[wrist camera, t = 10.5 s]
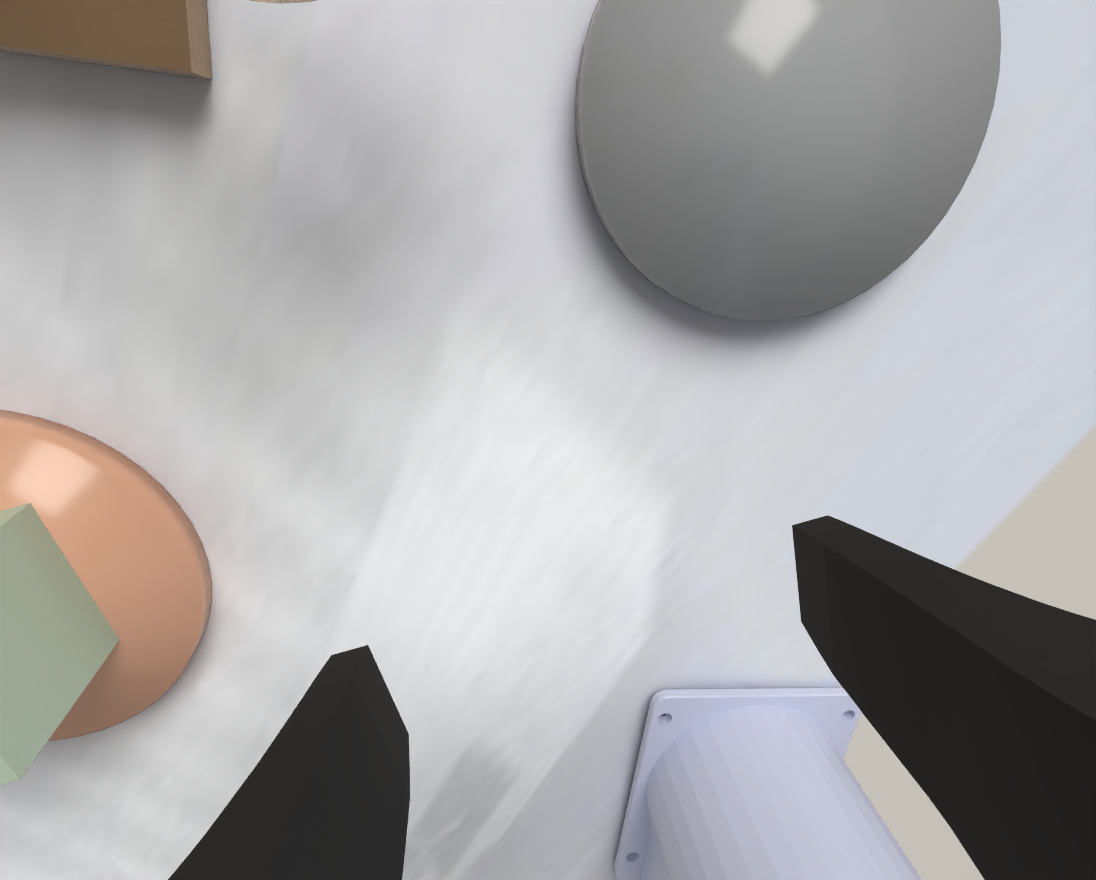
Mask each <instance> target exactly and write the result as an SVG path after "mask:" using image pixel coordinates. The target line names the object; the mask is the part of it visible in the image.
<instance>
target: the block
mask: <svg viewBox="0 0 1096 880" xmlns="http://www.w3.org/2000/svg"><path fill="white" fill-rule="evenodd" d="M118 641H119V638H118V637H117V635H116V634H115V632H114V631H113V629H112V628H111V626H110V624H109V623H108V621H107V620H106V618H105V617H104V615H103V614H102V612H101V611H100V609H99V608H98V606H97V605H96V603H95V601H94V600H93V598H92V597H91V595H90V594H89V592H88V591H87V589H86V588H85V586H84V585H83V583H82V582H81V580H80V578H79V577H78V575H77V574H76V572H75V571H74V569H73V568H72V566H71V565H70V563H69V562H68V560H67V558H66V557H65V555H64V554H63V552H62V551H61V549H60V548H59V546H58V545H57V543H56V542H55V540H54V539H53V537H52V535H51V534H50V532H49V531H48V529H47V528H46V526H45V525H44V523H43V522H42V520H41V519H40V517H39V516H38V514H37V512H36V511H35V509H34V508H33V506H32V505H31V503H27V504H24V505H20V506H16V507H12V508H9V509H5V510H1V511H0V785H3V784H7V783H10V782H14V781H17V780H20V779H21V778H22V776H23V775H24V774H25V772H26V771H27V769H28V768H29V767H30V765H31V764H32V762H33V761H34V760H35V758H36V757H37V755H38V754H39V753H40V751H41V750H42V748H43V747H44V746H45V744H46V743H47V741H48V740H49V738H50V737H51V736H52V734H53V733H54V731H55V730H56V729H57V727H58V726H59V724H60V723H61V722H62V720H63V719H64V717H65V716H66V715H67V713H68V712H69V710H70V709H71V708H72V706H73V705H74V703H75V702H76V700H77V699H78V698H79V696H80V695H81V693H82V692H83V691H84V689H85V688H86V686H87V685H88V684H89V682H90V681H91V679H92V678H93V677H94V675H95V674H96V672H97V671H98V670H99V668H100V667H101V665H102V664H103V662H104V661H105V660H106V658H107V657H108V655H109V654H110V653H111V651H112V650H113V648H114V647H115V646H116V644H117V643H118Z"/></svg>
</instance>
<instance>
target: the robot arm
mask: <svg viewBox="0 0 1096 880" xmlns="http://www.w3.org/2000/svg"><path fill="white" fill-rule="evenodd" d="M792 529H793V539H794V550H795V560H796V571H797V581H798V592H799V602H800V613H801V622H802V624H803V625H804V627H805V629H806V630H807V632H808V634H809V636H810V637H811V639H812V641H813V642H814V644H815V646H816V648H817V649H818V651H819V653H820V654H821V656H822V657H823V659H824V661H825V662H826V664H827V666H828V667H829V669H830V670H831V672H832V674H833V675H834V676H835V678H836V679H837V680H838V682H839V683H840V684H841V686H842V687H843V688H761V689H667V690H661V691H659V692H657V693H656V694H655V695H654V696H653V697H652V699H651V701H650V706H649V711H648V715H647V720H646V724H645V729H644V733H643V738H642V742H641V747H640V751H639V756H638V760H637V765H636V769H635V774H634V778H633V783H632V788H631V792H630V797H629V801H628V806H627V810H626V815H625V819H624V824H623V828H622V833H621V837H620V842H619V846H618V851H617V855H616V860H615V865H614V871H615V875H616V878H617V879H618V880H922V879H921V877H920V876H919V874H918V873H917V871H916V870H915V868H914V867H913V865H912V864H911V862H910V861H909V859H908V858H907V856H906V855H905V853H904V852H903V850H902V849H901V847H900V846H899V844H898V842H897V841H896V839H895V838H894V837H893V835H892V833H891V832H890V830H889V829H888V827H887V826H886V824H885V823H884V821H883V820H882V818H881V817H880V815H879V813H878V812H877V810H876V809H875V807H874V806H873V804H872V803H871V801H870V800H869V798H868V797H867V795H866V794H865V792H864V791H863V789H862V788H861V786H860V785H859V783H858V781H857V780H856V778H855V777H854V775H853V774H852V772H851V771H850V769H849V768H848V767H847V765H846V763H845V762H844V760H843V758H844V755H845V753H846V750H847V747H848V745H849V742H850V739H851V737H852V734H853V731H854V729H855V726H856V723H857V721H858V718H859V716H860V713H861V712H862V713H863V714H864V715H865V717H866V718H867V719H868V721H869V722H870V723H871V724H872V726H873V727H874V728H875V729H876V731H877V732H878V733H879V734H880V736H881V737H882V738H883V739H884V741H885V742H886V743H887V745H888V746H889V747H890V748H891V750H892V751H893V752H894V754H895V755H896V756H897V757H898V759H899V760H900V761H901V763H902V764H903V765H904V766H905V768H906V769H907V770H908V771H909V773H910V774H911V775H912V777H913V778H914V779H915V780H916V782H917V783H918V784H919V785H920V787H921V788H922V789H923V791H924V792H925V793H926V794H927V796H928V797H929V798H930V800H931V801H932V802H933V803H934V805H935V807H936V808H937V809H938V811H939V812H940V813H941V815H942V816H943V818H944V819H945V820H946V822H947V823H948V824H949V826H950V827H951V829H952V830H953V832H954V833H955V835H956V836H957V838H958V839H959V841H960V843H961V844H962V846H963V847H964V849H965V850H966V852H967V853H968V855H969V856H970V858H971V859H972V861H973V862H974V864H975V866H976V867H977V869H978V870H979V871H980V873H981V875H982V876H983V878H984V879H985V880H1096V620H1094V619H1091V618H1088V617H1084V616H1081V615H1077V614H1074V613H1071V612H1068V611H1065V610H1062V609H1059V608H1056V607H1053V606H1050V605H1047V604H1044V603H1041V602H1038V601H1035V600H1032V599H1030V598H1027V597H1024V596H1021V595H1019V594H1016V593H1013V592H1011V591H1008V590H1005V589H1003V588H1000V587H997V586H994V585H992V584H989V583H986V582H984V581H981V580H979V579H976V578H974V577H971V576H968V575H966V574H964V573H961V572H959V571H956V570H954V569H951V568H949V567H946V566H944V565H942V564H939V563H937V562H935V561H932V560H930V559H927V558H925V557H923V556H920V555H918V554H916V553H914V552H911V551H909V550H907V549H904V548H902V547H900V546H898V545H895V544H893V543H891V542H888V541H886V540H884V539H882V538H879V537H877V536H875V535H873V534H870V533H868V532H866V531H864V530H861V529H859V528H857V527H854V526H852V525H850V524H847V523H845V522H843V521H840V520H838V519H835V518H833V517H830V516H824V517H820V518H817V519H813V520H810V521H806V522H803V523H799V524H796V525H792ZM666 713H667V714H666ZM662 714H665V715H664V716H661V715H662ZM409 801H410V764H409V734H408V732H407V730H406V727H405V725H404V723H403V721H402V719H401V716H400V714H399V712H398V710H397V708H396V705H395V703H394V701H393V699H392V697H391V695H390V692H389V690H388V688H387V686H386V684H385V681H384V679H383V677H382V675H381V673H380V670H379V668H378V666H377V664H376V662H375V659H374V657H373V655H372V653H371V651H370V648H369V646H368V645H366V646H363V647H359V648H356V649H352V650H349V651H345V652H342V653H338V654H334V655H331V657H330V658H329V660H328V661H327V662H326V664H325V665H324V667H323V668H322V669H321V671H320V672H319V674H318V675H317V677H316V678H315V680H314V681H313V683H312V684H311V686H310V687H309V689H308V690H307V692H306V693H305V695H304V696H303V698H302V699H301V701H300V702H299V704H298V705H297V707H296V708H295V710H294V711H293V713H292V714H291V716H290V717H289V719H288V720H287V722H286V723H285V725H284V726H283V728H282V729H281V731H280V732H279V734H278V735H277V736H276V738H275V739H274V741H273V742H272V744H271V745H270V747H269V748H268V750H267V751H266V752H265V754H264V755H263V757H262V758H261V760H260V761H259V763H258V764H257V766H256V767H255V768H254V770H253V771H252V772H251V774H250V775H249V776H248V778H247V779H246V780H245V782H244V783H243V784H242V786H241V787H240V788H239V790H238V791H237V793H236V794H235V795H234V797H233V798H232V799H231V801H230V802H229V803H228V805H227V806H226V807H225V809H224V810H223V811H222V813H221V814H220V815H219V817H218V818H217V819H216V821H215V822H214V823H213V825H212V826H211V827H210V829H209V830H208V831H207V833H206V834H205V835H204V836H203V838H202V839H201V840H200V842H199V843H198V844H197V845H196V847H195V848H194V849H193V850H192V852H191V853H190V854H189V855H188V856H187V858H186V859H185V860H184V861H183V863H182V864H181V865H180V866H179V867H178V869H177V870H176V871H175V872H174V873H173V874H172V876H171V877H170V878H169V879H168V880H402V874H403V864H404V854H405V844H406V834H407V824H408V813H409Z"/></svg>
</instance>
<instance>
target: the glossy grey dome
mask: <svg viewBox="0 0 1096 880" xmlns="http://www.w3.org/2000/svg"><path fill="white" fill-rule="evenodd" d="M1000 52H1001V29H1000V10H999V4H998V0H599V1H598V3H597V6H596V8H595V10H594V13H593V15H592V18H591V21H590V25H589V28H588V32H587V35H586V38H585V42H584V45H583V49H582V55H581V60H580V66H579V72H578V78H577V90H576V108H575V116H576V133H577V145H578V151H579V156H580V162H581V167H582V172H583V175H584V179H585V182H586V185H587V188H588V192H589V195H590V198H591V200H592V203H593V205H594V207H595V209H596V211H597V214H598V216H599V218H600V220H601V222H602V224H603V226H604V227H605V229H606V230H607V232H608V234H609V235H610V237H611V239H612V240H613V242H614V243H615V245H616V246H617V247H618V248H619V250H620V251H621V252H622V253H623V255H624V256H625V257H626V258H627V259H628V261H629V262H630V263H631V264H632V265H633V266H634V267H635V268H636V269H638V270H639V271H640V272H641V273H642V274H643V275H644V276H645V277H646V278H647V279H648V280H650V281H651V282H653V283H654V284H656V285H657V286H659V287H660V288H662V289H663V290H665V291H666V292H668V293H669V294H671V295H673V296H674V297H676V298H678V299H680V300H681V301H684V302H686V303H688V304H690V305H692V306H694V307H696V308H698V309H700V310H703V311H706V312H709V313H712V314H715V315H719V316H722V317H726V318H732V319H738V320H744V321H779V320H788V319H795V318H799V317H803V316H807V315H811V314H815V313H819V312H822V311H824V310H827V309H830V308H832V307H835V306H837V305H840V304H842V303H844V302H846V301H848V300H850V299H852V298H854V297H856V296H858V295H859V294H861V293H863V292H865V291H867V290H868V289H869V288H871V287H872V286H874V285H875V284H877V283H878V282H880V281H881V280H883V279H884V278H886V277H887V276H888V275H889V274H891V273H892V272H893V271H894V270H895V269H896V268H898V267H899V266H900V265H901V264H902V263H904V262H905V261H906V260H907V259H908V258H909V257H910V256H911V255H912V254H913V253H914V252H915V251H916V250H917V249H918V248H919V247H920V246H921V244H922V243H923V242H924V241H925V240H926V239H927V238H928V237H929V236H930V234H931V233H932V232H933V230H934V229H935V228H936V227H937V225H938V224H939V223H940V221H941V220H942V219H943V218H944V216H945V215H946V213H947V212H948V210H949V209H950V207H951V205H952V204H953V202H954V201H955V199H956V197H957V196H958V194H959V193H960V191H961V189H962V187H963V185H964V183H965V181H966V179H967V177H968V175H969V173H970V171H971V169H972V167H973V165H974V163H975V161H976V158H977V156H978V153H979V150H980V148H981V145H982V143H983V140H984V137H985V135H986V131H987V128H988V124H989V120H990V117H991V113H992V110H993V106H994V101H995V95H996V89H997V83H998V77H999V67H1000Z"/></svg>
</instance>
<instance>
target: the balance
mask: <svg viewBox="0 0 1096 880" xmlns="http://www.w3.org/2000/svg"><path fill="white" fill-rule="evenodd" d="M250 1H258V2H270V3H282V4H283V3H298V2H311V1H316V0H250ZM0 51H5V52H13V53H20V54H27V55H35V56H42V57H50V58H57V59H64V60H72V61H79V62H87V63H94V64H101V65H109V66H116V67H124V68H131V69H138V70H146V71H153V72H161V73H168V74H175V75H183V76H190V77H198V78H205V79H212V72H211V58H210V44H209V31H208V17H207V3H206V0H0Z"/></svg>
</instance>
